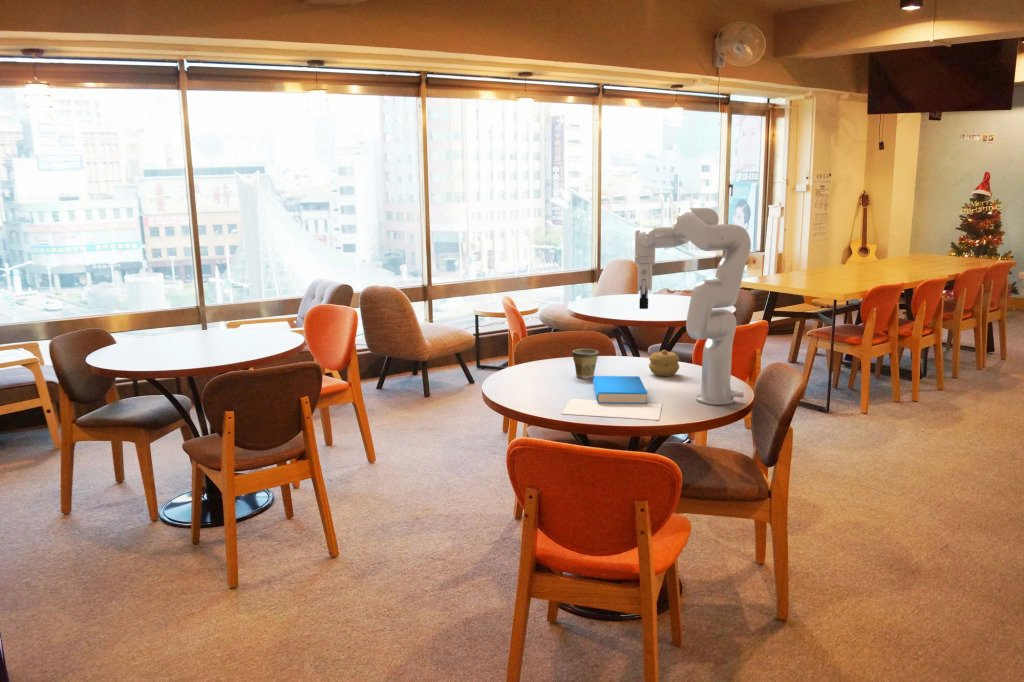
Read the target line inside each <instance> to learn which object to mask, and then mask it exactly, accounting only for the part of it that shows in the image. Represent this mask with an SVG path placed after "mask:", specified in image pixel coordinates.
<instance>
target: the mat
mask: <svg viewBox="0 0 1024 682" xmlns="http://www.w3.org/2000/svg"><path fill="white" fill-rule="evenodd" d="M662 405H663V404H662V403H651V402H649V403H648V402H647V404H598V401H597V399H579V398H570V400H569V401H568V403H567V405H565V407H564V409H563V410H562V413H561V415H570V416H585V417H599V418H600V417H601V418H603V417H604V418H618V419H632V420H647V421H659V420H660V415H661V410H662Z"/></svg>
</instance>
